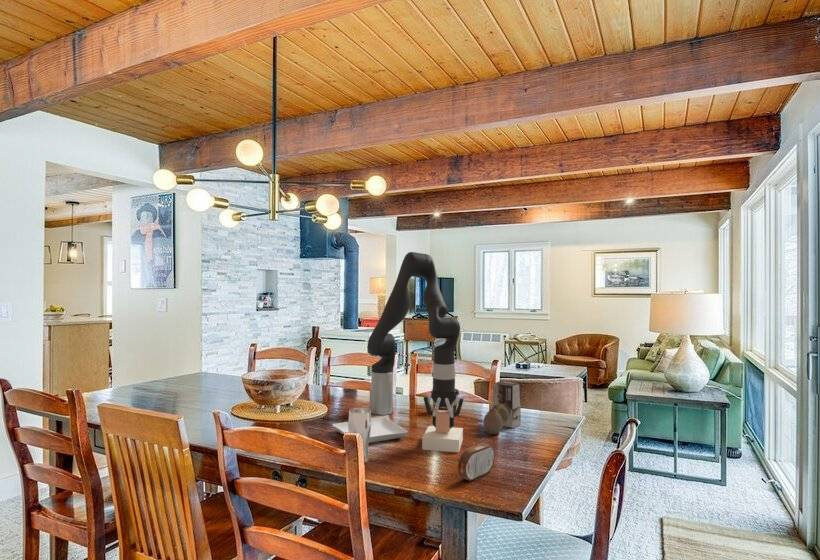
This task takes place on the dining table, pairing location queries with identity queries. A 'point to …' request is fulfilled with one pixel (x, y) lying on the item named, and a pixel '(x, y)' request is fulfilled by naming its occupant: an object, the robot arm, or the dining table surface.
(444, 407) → the food container
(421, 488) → the dining table surface
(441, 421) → the light pinkish-tan block
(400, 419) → the dining table surface
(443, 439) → the plinth
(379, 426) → the salad plate
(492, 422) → the vase
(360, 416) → the beer glass
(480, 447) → the tin
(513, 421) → the coffee box
